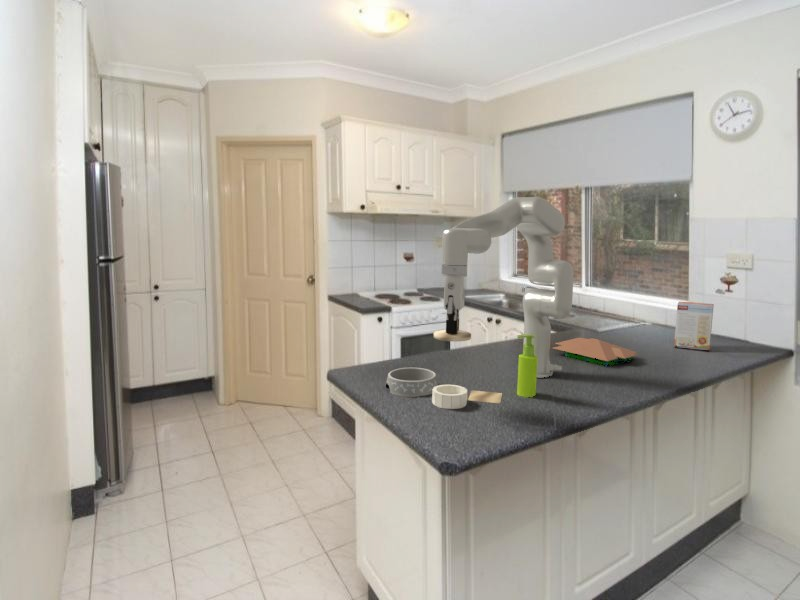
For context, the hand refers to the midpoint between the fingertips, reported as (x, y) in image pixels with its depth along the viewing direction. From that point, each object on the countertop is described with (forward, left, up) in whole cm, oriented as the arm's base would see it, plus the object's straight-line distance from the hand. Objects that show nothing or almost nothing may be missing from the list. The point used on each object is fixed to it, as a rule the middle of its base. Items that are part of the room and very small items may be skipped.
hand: (452, 331), depth 154 cm
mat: (-10, -9, -23) cm, 26 cm away
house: (-48, -75, -23) cm, 92 cm away
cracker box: (-93, -104, -23) cm, 141 cm away
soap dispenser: (-22, -15, -23) cm, 35 cm away
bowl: (0, 0, -23) cm, 23 cm away
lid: (0, 0, -2) cm, 2 cm away
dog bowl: (+15, -11, -23) cm, 30 cm away
